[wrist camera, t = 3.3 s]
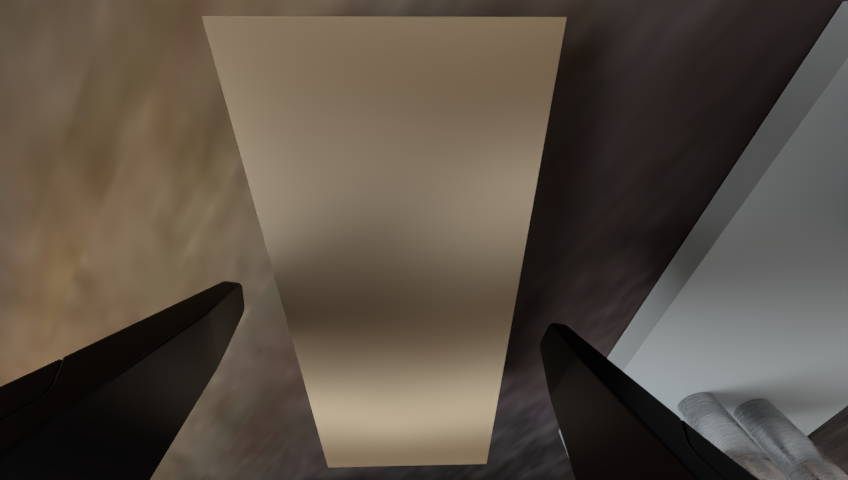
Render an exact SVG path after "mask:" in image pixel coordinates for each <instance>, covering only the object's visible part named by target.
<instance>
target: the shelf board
mask: <svg viewBox="0 0 848 480" xmlns="http://www.w3.org/2000/svg"><path fill="white" fill-rule="evenodd" d="M202 19H203V22H204V26H205V30H206V33H207V37H208V40H209V44H210V47H211V51H212V55H213V58H214V62H215V65H216V69H217V72H218V76H219V80H220V83H221V87H222V90H223V94H224V98H225V101H226V105H227V108H228V112H229V115H230V119H231V123H232V126H233V130H234V133H235V137H236V140H237V144H238V148H239V151H240V155H241V158H242V162H243V165H244V169H245V173H246V176H247V180H248V183H249V187H250V190H251V194H252V198H253V201H254V205H255V208H256V212H257V215H258V219H259V223H260V226H261V230H262V233H263V237H264V240H265V244H266V248H267V251H268V255H269V258H270V262H271V265H272V269H273V273H274V276H275V280H276V283H277V287H278V290H279V294H280V298H281V301H282V305H283V308H284V312H285V315H286V319H287V323H288V326H289V330H290V333H291V337H292V340H293V344H294V348H295V351H296V355H297V358H298V362H299V365H300V369H301V373H302V376H303V380H304V383H305V387H306V390H307V394H308V398H309V401H310V405H311V408H312V412H313V415H314V419H315V423H316V426H317V430H318V433H319V437H320V440H321V444H322V448H323V451H324V455H325V458H326V462H327V465H328V467H368V466H414V465H461V464H486V463H487V458H488V452H489V447H490V441H491V436H492V430H493V424H494V419H495V413H496V408H497V402H498V397H499V391H500V386H501V380H502V374H503V369H504V363H505V358H506V352H507V347H508V341H509V336H510V330H511V325H512V319H513V313H514V308H515V302H516V297H517V291H518V286H519V280H520V275H521V269H522V263H523V258H524V252H525V247H526V241H527V236H528V230H529V225H530V219H531V213H532V208H533V202H534V197H535V191H536V186H537V180H538V175H539V169H540V163H541V158H542V152H543V147H544V141H545V136H546V130H547V125H548V119H549V113H550V108H551V102H552V97H553V91H554V86H555V80H556V75H557V69H558V63H559V58H560V52H561V47H562V41H563V36H564V30H565V25H566V19H567V17H363V16H202Z"/></svg>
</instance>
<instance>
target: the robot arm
mask: <svg viewBox="0 0 848 480" xmlns="http://www.w3.org/2000/svg"><path fill="white" fill-rule="evenodd" d="M243 312H244V299H243V291H242V286H241V284H240V283H236V282H229V281H224V282H221V283H219V284H217V285H215V286H213V287H211V288H209V289H206V290H204V291H202V292H200V293H198V294H196V295H194V296H192V297H190V298H188V299H185V300H183V301H181V302H179V303H177V304H175V305H173V306H171V307H169V308H166V309H164V310H162V311H160V312H158V313H156V314H154V315H152V316H150V317H148V318H145V319H143V320H141V321H139V322H137V323H135V324H133V325H131V326H129V327H127V328H124V329H122V330H120V331H118V332H116V333H114V334H112V335H110V336H108V337H105V338H103V339H101V340H99V341H97V342H95V343H93V344H91V345H89V346H87V347H84V348H82V349H80V350H78V351H76V352H74V353H72V354H70V355H68V356H65V357H64V358H63V360H57V361H55V362H53V363H51V364H48V365H46V366H44V367H42V368H40V369H38V370H36V371H34V372H32V373H29V374H27V375H25V376H23V377H21V378H18V379H16V380H14V381H12V382H10V383H8V384H5V385H3V386H1V387H0V480H150V478H151V477H152V475H153V473H154V472H155V470H156V468H157V467H158V465H159V463H160V462H161V460H162V458H163V457H164V455H165V453H166V452H167V450H168V448H169V447H170V445H171V444H172V442H173V440H174V439H175V437H176V435H177V434H178V432H179V430H180V429H181V427H182V425H183V424H184V422H185V420H186V419H187V417H188V415H189V414H190V412H191V411H192V409H193V407H194V406H195V404H196V402H197V401H198V399H199V397H200V396H201V394H202V392H203V391H204V389H205V387H206V386H207V384H208V382H209V381H210V379H211V377H212V376H213V374H214V373H215V371H216V369H217V367H218V366H219V364H220V362H221V360H222V358H223V356H224V353H225V351H226V349H227V347H228V345H229V343H230V340H231V338H232V336H233V334H234V332H235V330H236V328H237V325H238V323H239V321H240V319H241V317H242V315H243ZM540 351H541V356H542V361H543V365H544V370H545V375H546V380H547V385H548V390H549V394H550V398H551V402H552V405H553V408H554V412H555V415H556V418H557V421H558V424H559V428H560V431H561V434H562V437H563V440H564V444H565V447H566V450H567V453H568V456H569V460H570V463H571V466H572V469H573V472H574V475H575V479H576V480H759V479H758V478H757V477H755V476H754V475H753V474H751V473H750V472H749V471H747V470H746V469H745V468H743V467H742V466H741V465H739V464H738V463H737V462H735V461H734V460H733V459H731V458H730V457H729V456H727V455H726V454H725V453H723V452H722V451H721V450H720V449H718V448H717V447H716V446H715V445H713V444H712V443H711V442H710V441H708V440H707V439H706V438H704V437H703V436H702V435H701V434H699V433H698V432H697V431H696V430H695V429H693V428H692V427H691V426H690V425H688V424H687V423H686V422H685V421H683V420H681V419H680V417H678V416H677V415H676V414H675V413H674V412H672V411H671V410H670V409H669V408H667V407H666V406H665V405H664V404H662V403H661V402H660V401H659V400H658V399H656V398H655V397H654V396H653V395H651V394H650V393H649V392H648V391H646V390H645V389H644V388H643V387H642V386H640V385H639V384H638V383H637V382H635V381H634V380H633V379H632V378H630V377H629V376H628V375H627V374H625V373H624V372H623V371H622V370H621V369H619V368H618V367H617V366H616V365H614V364H613V363H612V362H611V361H609V360H608V359H607V358H606V357H605V356H603V355H602V354H601V353H600V352H598V351H597V350H596V349H595V348H593V347H592V346H591V345H590V344H589V343H587V342H586V341H585V340H584V339H582V338H581V337H580V336H579V335H577V334H576V333H575V332H574V331H573V330H571V329H570V328H569V327H568V326H566V325H564V324H559V323H551V324H550V325H549V326H548V328H547V330H546V332H545V334H544V336H543V338H542V340H541V343H540Z"/></svg>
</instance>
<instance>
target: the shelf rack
mask: <svg viewBox="0 0 848 480" xmlns="http://www.w3.org/2000/svg"><path fill="white" fill-rule="evenodd" d="M607 359H608V360H609V361H611V362H612V363H613V364H614V365H616V366H617V367H618V368H619V369H621V370H622V371H623V372H624V373H625V374H627V375H628V376H629V377H630V378H632V379H633V380H634V381H635V382H637V383H638V384H639V385H640V386H642V387H643V388H644V389H645V390H646V391H648V392H649V393H650V394H651V395H653V396H654V397H655V398H656V399H658V400H659V401H660V402H661V403H662V404H664V405H665V406H666V407H667V408H669V409H670V410H671V411H672V412H674V413H675V414H676V415H677V416H678V417H680V419H681V420H683V421H685V422H686V423H687V424H688V425H690V426H691V427H692V428H693V429H695V430H696V431H697V432H698V433H699V434H701V435H702V436H703V437H704V438H706V439H707V440H708V441H710V442H711V443H712V444H713V445H715V446H716V447H717V448H718V449H720V450H721V451H722V452H723V453H725V454H726V455H727V456H729V457H730V458H731V459H733V460H734V461H735V462H737V463H738V464H739V465H741V466H742V467H743V468H745V469H746V470H747V471H749V472H750V473H751V474H753V475H754V476H755V477H757V478H758V479H759V480H848V475H847V474H846V473H844V472H843V471H842V470H841V469H840V468H839V467H838V466H837V465H836V464H835V463H834V462H833V461H832V460H831V459H830V458H829V457H828V456H827V455H826V454H825V453H824V452H823V451H821V450H820V449H819V448H818V447H817V446H816V445H815V444H814V443H813V442H812V441H811V440H810V439H809V438H808V437H807V436H808V435H809V434H810V433H812V432H813V431H814V430H816V429H817V428H818V427H820V426H821V425H822V424H824V423H825V422H826V421H828V420H829V419H830V418H832V417H833V416H834V415H836V414H837V413H838V412H840V411H841V410H842V409H844V408H845V407H846V406H847V405H848V1H843V2H842V4H841V5H840V7H839V8H838V10H837V11H836V13H835V14H834V16H833V17H832V19H831V20H830V22H829V23H828V25H827V26H826V28H825V29H824V31H823V32H822V34H821V35H820V37H819V38H818V40H817V41H816V43H815V44H814V46H813V47H812V49H811V50H810V52H809V54H808V55H807V57H806V58H805V60H804V61H803V63H802V64H801V66H800V67H799V69H798V70H797V72H796V73H795V75H794V76H793V78H792V79H791V81H790V82H789V84H788V85H787V87H786V88H785V90H784V91H783V93H782V94H781V96H780V97H779V99H778V100H777V102H776V103H775V105H774V106H773V108H772V109H771V111H770V112H769V114H768V115H767V117H766V118H765V120H764V121H763V123H762V124H761V126H760V128H759V129H758V131H757V132H756V134H755V135H754V137H753V138H752V140H751V141H750V143H749V144H748V146H747V147H746V149H745V150H744V152H743V153H742V155H741V156H740V158H739V159H738V161H737V162H736V164H735V165H734V167H733V168H732V170H731V171H730V173H729V174H728V176H727V177H726V179H725V180H724V182H723V183H722V185H721V186H720V188H719V189H718V191H717V192H716V194H715V195H714V197H713V199H712V200H711V202H710V203H709V205H708V206H707V208H706V209H705V211H704V212H703V214H702V215H701V217H700V218H699V220H698V221H697V223H696V224H695V226H694V227H693V229H692V230H691V232H690V233H689V235H688V236H687V238H686V239H685V241H684V242H683V244H682V245H681V247H680V248H679V250H678V251H677V253H676V254H675V256H674V257H673V259H672V260H671V262H670V263H669V265H668V266H667V268H666V269H665V271H664V273H663V274H662V276H661V277H660V279H659V280H658V282H657V283H656V285H655V286H654V288H653V289H652V291H651V292H650V294H649V295H648V297H647V298H646V300H645V301H644V303H643V304H642V306H641V307H640V309H639V310H638V312H637V313H636V315H635V316H634V318H633V319H632V321H631V322H630V324H629V325H628V327H627V328H626V330H625V331H624V333H623V334H622V336H621V337H620V339H619V340H618V342H617V344H616V345H615V347H614V348H613V350H612V351H611V353H610V354H609V356H608V357H607ZM559 434H560V436H561V439H562V442H563V444H564V440H563V437H562V434H561V431H560V430H559ZM564 447H565V444H564ZM565 449H566V447H565ZM566 452H567V450H566ZM567 454H568V453H567ZM568 457H569V456H568Z"/></svg>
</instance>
